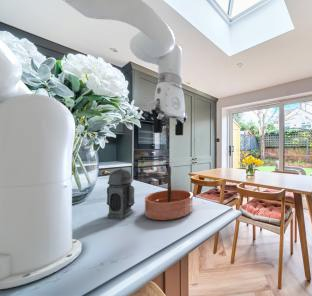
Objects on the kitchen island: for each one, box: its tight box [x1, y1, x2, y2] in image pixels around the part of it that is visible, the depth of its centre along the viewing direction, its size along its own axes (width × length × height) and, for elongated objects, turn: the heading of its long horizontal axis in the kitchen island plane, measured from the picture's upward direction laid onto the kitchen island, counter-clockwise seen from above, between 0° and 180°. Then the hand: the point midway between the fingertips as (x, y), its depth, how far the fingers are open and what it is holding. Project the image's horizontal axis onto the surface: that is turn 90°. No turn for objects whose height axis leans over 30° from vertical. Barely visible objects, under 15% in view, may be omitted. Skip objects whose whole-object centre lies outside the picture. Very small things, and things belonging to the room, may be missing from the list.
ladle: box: [166, 165, 172, 203], centre depth 57 cm, size 5×5×15 cm
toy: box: [106, 168, 135, 220], centre depth 54 cm, size 8×6×15 cm
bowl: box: [144, 189, 194, 221], centre depth 57 cm, size 15×15×6 cm
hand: (169, 134), depth 57 cm, fingers open, 9 cm apart
